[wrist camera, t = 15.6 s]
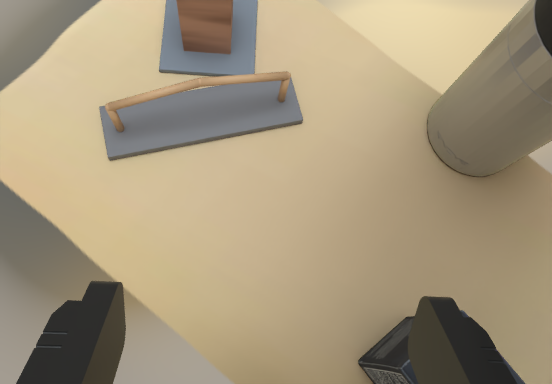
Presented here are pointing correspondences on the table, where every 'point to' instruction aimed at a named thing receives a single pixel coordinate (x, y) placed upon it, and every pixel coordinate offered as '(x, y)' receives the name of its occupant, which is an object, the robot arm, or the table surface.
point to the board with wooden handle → (199, 113)
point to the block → (206, 25)
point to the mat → (211, 63)
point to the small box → (398, 357)
